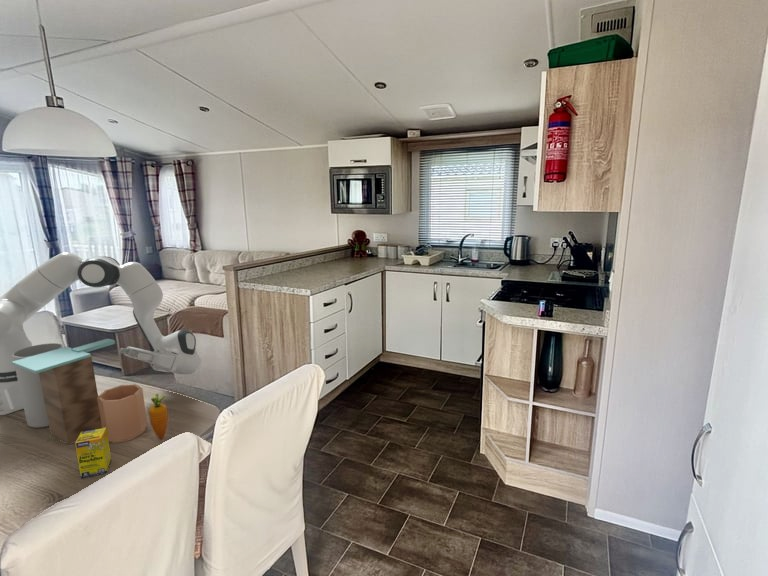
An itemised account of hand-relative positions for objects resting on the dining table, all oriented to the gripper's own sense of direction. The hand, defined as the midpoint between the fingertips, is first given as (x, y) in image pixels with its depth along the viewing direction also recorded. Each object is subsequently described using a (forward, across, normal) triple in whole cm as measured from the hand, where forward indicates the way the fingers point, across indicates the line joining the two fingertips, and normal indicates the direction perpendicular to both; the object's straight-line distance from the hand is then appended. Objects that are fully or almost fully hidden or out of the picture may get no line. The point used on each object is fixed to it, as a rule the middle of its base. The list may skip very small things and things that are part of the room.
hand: (129, 352), depth 139 cm
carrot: (-2, +28, +22) cm, 36 cm away
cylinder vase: (+6, -17, +27) cm, 33 cm away
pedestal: (+6, 0, +27) cm, 28 cm away
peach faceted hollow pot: (0, +14, +24) cm, 28 cm away
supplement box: (+13, +25, +31) cm, 42 cm away
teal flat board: (+18, 0, +4) cm, 18 cm away
